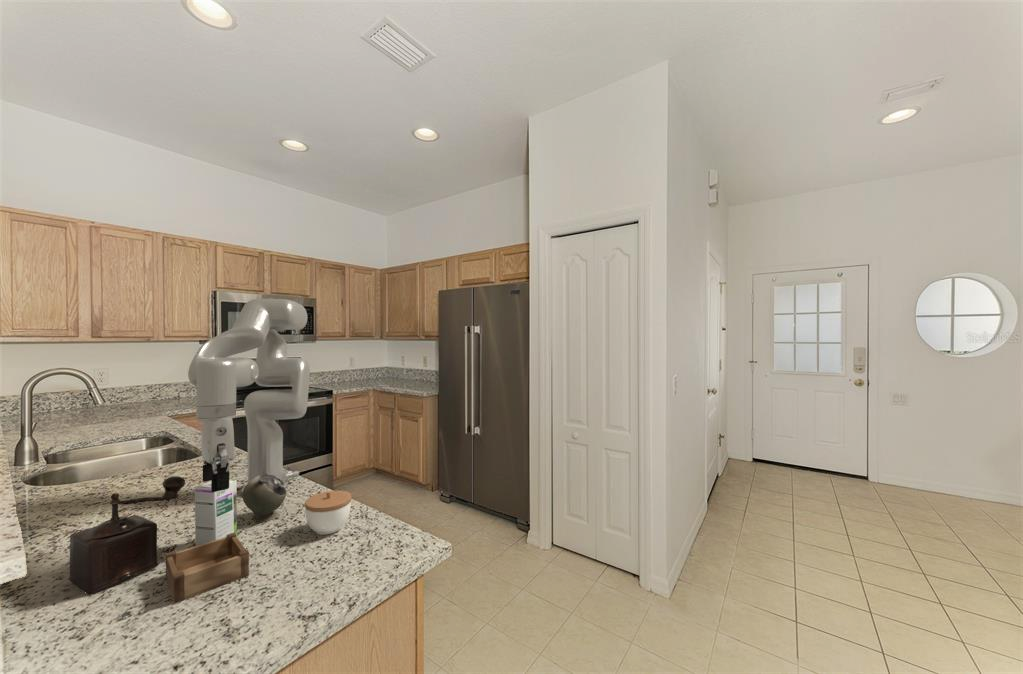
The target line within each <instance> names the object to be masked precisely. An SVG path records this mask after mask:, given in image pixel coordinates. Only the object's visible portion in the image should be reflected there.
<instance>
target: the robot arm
mask: <svg viewBox="0 0 1023 674" xmlns="http://www.w3.org/2000/svg"><path fill="white" fill-rule="evenodd" d="M307 323H308V313H307V309H306V308H305V307H304V306H303V305H302V304H300V303H298V302H296V301H294V300H290V299H285V298H254V299H249V300H248V301H247V302H246V303H244V305H243V307H242V309H241V311H240V313H239V315H238V317H237V319H236V320H235V322H234V324H233V326H232V327H231V329H227V330H226V331H223V332H221V333H220V334H218V335H216V336H214V337H212V338H211V339H208V340H207V341H205V343H203V344H202V345H201V346H200V347H199V348H198V350H197V352H196V354H195V355H194V357H193V359H192V360H191V362H190V364H189V369H188V370H187V371H188V372H187V376H188V381H189V382H190V383H191V384H192V385H193V386H195V387H196V395H195V396H196V400H195V401H196V403H195V404H196V405H195V414H196V415H195V420H196V421H200V422H201V433H200V436H201V437H200V447H201V449H200V450H201V457H202V459H203V464H202V482H203V483H204V482H205V483H207V482H211V491H212V492H217V491H221V490H226V489H228V488H229V479H230V463H229V461H234V459H235V458H236V456H235V455H236V453H235V451H236V450H235V433H234V432H235V431H234V423H233V422H234V421H233V418H235V417H237V388H244V387H248V386H250V385H252V384H254V383H256V385H258V386H260V387H272V388H273V387H275V388H276V387H291V389H263V390H262V389H261V390H255V391H253V392H251V393H249V394H248V395H246V397H245V399H244V403H243V407H244V414H245V419H246V424H247V483H248V482H249V481H251V480H252V479H254V478H255V477H257V476H260V475H262V474H263V472H262V470H263V471H265V472H266V474H267V475H273V476H276V477H277V478H278V479H280V480H282V481H283V483H284V488H285V489H286V488H287V487H288V486H289V481H288V480H290V479H293V478H298V477H299V476H300V472H299V470H294V471H293V470H288V471H284V470H283V467H284V466H283V464H284V463H283V462H284V458H283V457H284V456H283V455H284V452H283V450H284V448H283V447H284V444H283V442H284V432H283V430H282V428H281V426H280V425H279V424H278V423H277V422H276V421H277V420H278V421H279V420H294V419H296V420H297V419H301V418H303V417H305V414H306V413H307V409H308V403H309V402H308V400H309V390H310V389H309V388H310V376H311V375H310V374H311V371H310V370H311V369H310V364H309V362H308V361H307V360H306V359H304V358H303V357H287V356H288V355H287V354H288V344H287V342H286V340H285V338H283V336H282V335H281V334H280V333H279V332H278V331H279V330H281V331H282V330H283V331H287V330H289V331H291V330H292V331H293V330H294V331H297V330H298V331H300V330H303V329H304V328H305V327H306V325H307ZM277 330H278V331H277ZM254 349H257V351H256V360H253V359H251V358H248V357H231V356H233V355H234V356H235V355H237V354H241V353H245V352H249V351H252V350H254ZM245 486H246V485H244V486H243V487H242V488H241V495H242V494H243V490H244V487H245Z"/></svg>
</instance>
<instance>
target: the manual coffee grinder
mask: <svg viewBox="0 0 1023 674" xmlns="http://www.w3.org/2000/svg"><path fill="white" fill-rule="evenodd" d="M185 485H186V480H185V478H184V477H181V476H178V475H175V476H174V475H173V476H170V477H167V478H165V479H164V480H163V481H162V487H163V490H164V493H163V495H161V496H157V497H156V496H155V497H154V496H153V497H147V496H146V497H140V498H134V499H132V498H131V499H128V500H120V498H119V497H120V494H119V493H118V492H113V493H112V494H111V495H110V499H111V500H110V502H109V505H111V517H110V519H107V520H105V521H103V522H102V523H100V524H98V525H96V526H93V527H90V528H86V529H83V530H80V531H77V532H74V533H71V534H70V537H69V581H70V583H71V584H72V585H73V586H75V587H76V588H77V589H79V590H81V591H82V590H83V591H84V592H83V591H82V592H83V593H85V592H86V593H87V595H90V594H93V595H95V594H97V593H100V592H103V591H104V590H107V589H110V588H113V587H115V586H117V585H119V584H122V583H124V582H127V581H129V580H132V579H134V578H135V577H137V576H140V575H142V574H145V573H146V572H149V571H151V570H153V569H155V568H157V567H158V566H159V564H158V523H156V522H154V521H152V520H150V519H147V518H145V517H142V516H139V515H137V514H133V515H129V516H120V515H119V505H125V506H126V505H133V504H139V503H140V504H141V503H147V502H163V501H166V502H170V501H171V500H175V499H178V498H179V494H178V492H179V491H180V490H181V489H182V488H184V487H185ZM86 593H85V594H86Z"/></svg>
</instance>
